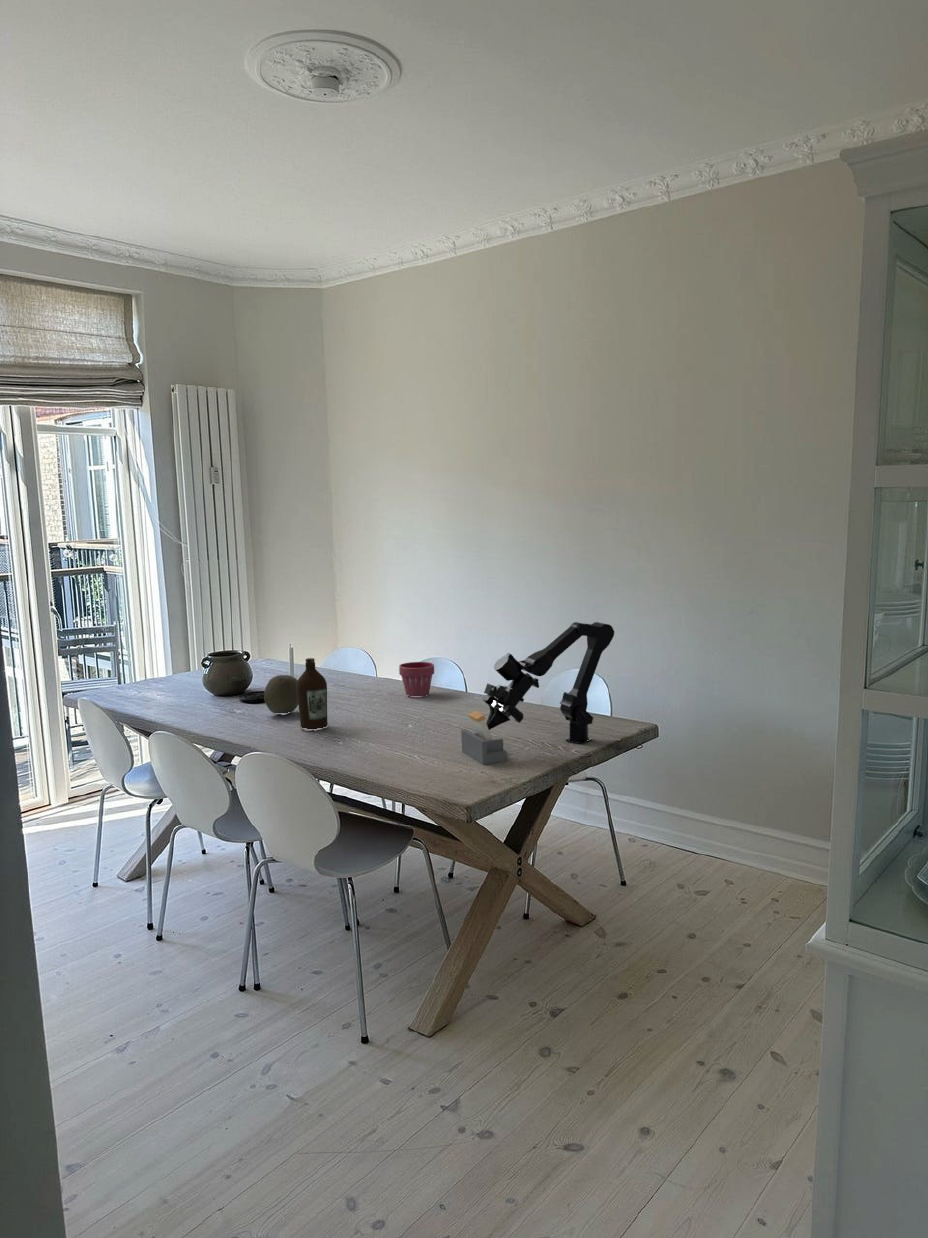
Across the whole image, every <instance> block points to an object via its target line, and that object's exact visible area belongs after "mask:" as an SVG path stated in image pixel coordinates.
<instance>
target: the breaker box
mask: <svg viewBox="0 0 928 1238" xmlns="http://www.w3.org/2000/svg"><path fill="white" fill-rule="evenodd" d="M460 731H461V733H460V735H461V751H462V753H464V754H466V755H468V756H469V758H472V759H473V760H475V761H476V762H478V763H479V764H481V765H489V764H495V763H496V764H497V763H501V762H508V751H507V750H506V749H504V739H503V738H495V739H493V740H488V741H485V740H484V739H482V738H480V737H479V736H478V734H477V732H472V731H470V730H468V729H467V728H463V729H460Z"/></svg>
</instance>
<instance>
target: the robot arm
mask: <svg viewBox="0 0 928 1238" xmlns="http://www.w3.org/2000/svg"><path fill="white" fill-rule="evenodd" d="M582 636H583V637H586V641H587V642H586V644H587V647H586V651H585V654H584V656H583V659H582V662H581V665H580V668H579V670H578V673H577V675H576V678H575V680H574V683H573V687H572V689H571V690H570V691H569V692H566V691H565V692H563V694H562V698H561V701H560V702H559V704H560V707H559V709H560V712H561V714H562V715H563V716H564V718H565V720H566V721H569V737H568V738H566V739H565V741H566V742H567V741H573V742H572V743H574V742H580V743H584V742H586V741H587V740H589V737H590V736H589V725H591V724H593V720H594V716H592V715H591V714H590V713H589V711H587V709H588V703H589V702H588V692H589V690H590V686H591V685H592V684H591V683H592V681H593V679H594V678H593V677H594V675H595V672H596V670H597V668H598V664H599V662H600V660H601V656H602V653H603V651H605V650H606V649H607V648H608V647H609V646H610V645H611V643H612V640H613V638H614V636H615V630H614V628H613V626H612V625H610V624H608V623H603V622H599V621H594V622H593V623H584V622H577V621H575V622H572V623H571V624H570V626H569V627H568V628H567V629H565V630H564V631H563V632H562V633H560V634H559V635H558V636H557V637H556V638H555V639H554V640H553V641H552V642H550V643H549V644H548V645H547V646H546V647H544V648H542V649H540V650H538V651H534V652H533V653H532V654H530V655H529V656H527V657H526V658H525V659H523V660H519V661H518V660H517V659H516V658H515V657H514V656H513V654H511V653H510V652H507V653H506V654H505V655H503V656H501V657H500V658H499V659H497V661H496V662H495V663H494V665H493V669H494V671H496V672H497V673H498V674H499V675H500V676H501V677H502V678H503V679H504V680H505V681H506V682H509V681H511V682H510V683H509V684H508V686H507V685H504V686H503V685H501V684H498V685H497V686H496V685H493V684H490V683H487V684H486V686H485V688H484V691H483V693H484V694H485V695H484V696H483V698H482V701H483V702H484V703H485V704H486V705H488V707H489V714H488V717H487V720H486V721H485V722H486V724H487V727H488V729H489V731H490V730H492V729H494V728H496V727H498V726H499V725H502V724H504V723H506V722H510V721H511V718H510V717H513V719H514V721H515V722H516V723H519V724H521V722H522V721H523V720H524V713H523V712H521V711H520V710H519V709H518V707H517V706H518V704H520V702H521V703H523V702H524V701H525V698H524V697H525V695H527V694H528V692H529V690H530V689H531V688H532V687H535V688H536V689H540V684H539V678H536V677H543V676H545V675H546V674H547V673H548V671H549V670H550V669H551V668H552V667H553V665H554V662H555V661H556V660H557V658H558V657H559V656H560V655H562V654H563V653H564V652H565V651H567V649H568V648H570V647H571V646H572V645H573V644H574V643H575V642H577V641H578V640H579V639H580V638H581V637H582ZM525 672H527V673H525ZM532 675H534V676H536V677H533V676H532ZM580 743H579V744H580ZM586 743H587V742H586ZM584 744H585V743H584Z"/></svg>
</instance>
